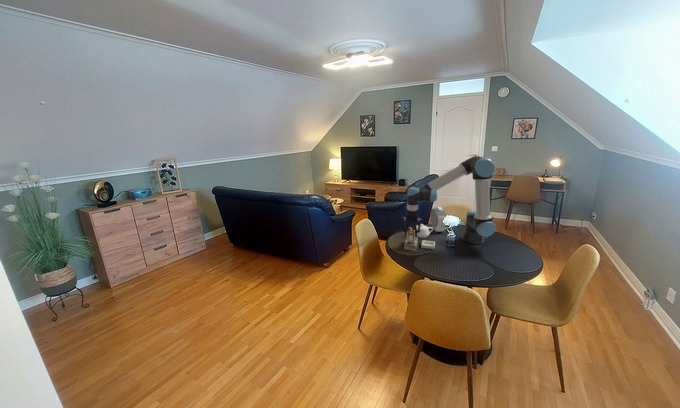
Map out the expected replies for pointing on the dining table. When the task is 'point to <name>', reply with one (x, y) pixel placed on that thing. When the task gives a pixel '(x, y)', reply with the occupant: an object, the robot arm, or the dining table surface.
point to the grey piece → (438, 219)
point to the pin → (410, 236)
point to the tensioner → (411, 245)
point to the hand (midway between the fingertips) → (410, 240)
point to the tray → (428, 244)
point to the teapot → (423, 231)
